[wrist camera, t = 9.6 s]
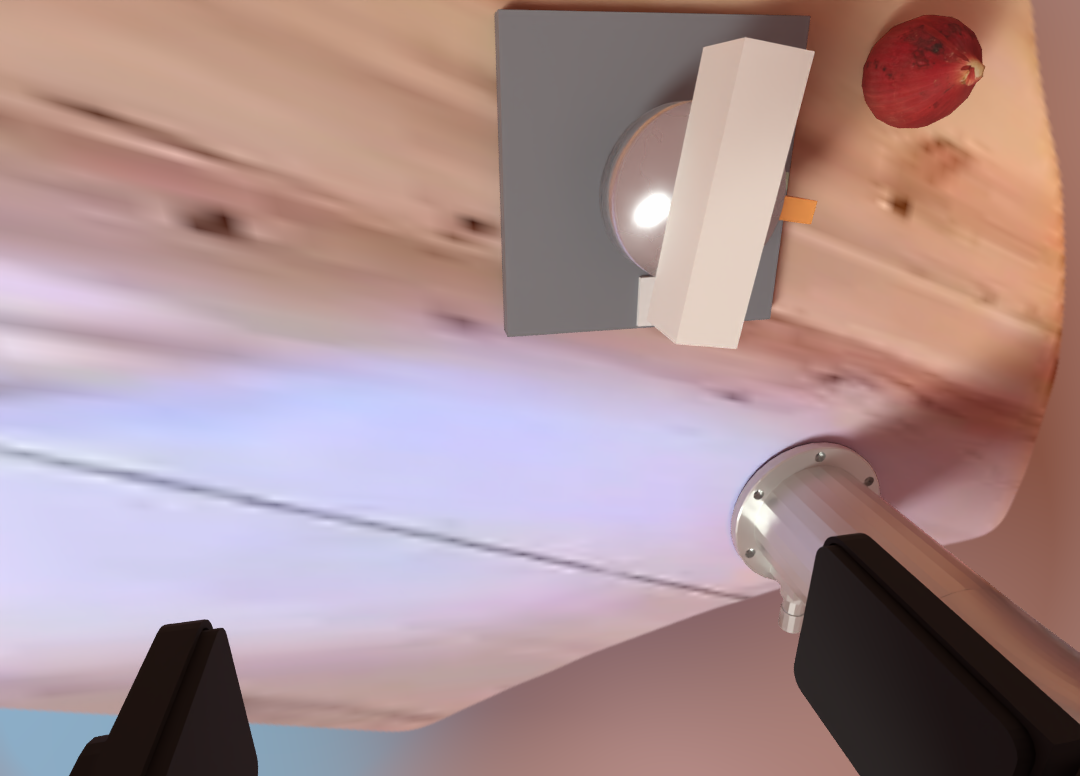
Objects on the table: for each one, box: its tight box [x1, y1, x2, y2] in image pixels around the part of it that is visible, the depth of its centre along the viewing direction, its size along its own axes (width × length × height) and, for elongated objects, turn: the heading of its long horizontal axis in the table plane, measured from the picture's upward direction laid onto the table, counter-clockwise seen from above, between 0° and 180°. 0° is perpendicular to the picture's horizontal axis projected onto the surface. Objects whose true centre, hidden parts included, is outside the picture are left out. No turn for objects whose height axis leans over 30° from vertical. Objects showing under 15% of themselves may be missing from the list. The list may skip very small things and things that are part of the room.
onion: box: [862, 15, 985, 128], centre depth 37 cm, size 6×6×8 cm
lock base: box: [495, 9, 810, 337], centre depth 38 cm, size 18×18×6 cm
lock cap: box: [599, 37, 817, 349], centre depth 32 cm, size 11×13×7 cm
